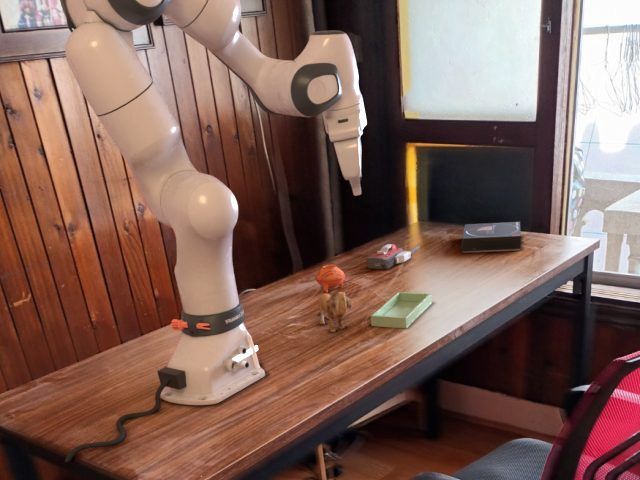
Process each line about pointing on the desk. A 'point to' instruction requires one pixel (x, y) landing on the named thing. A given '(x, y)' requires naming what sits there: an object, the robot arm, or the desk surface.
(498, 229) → the portable cd player
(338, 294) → the lion figurine
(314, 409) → the desk surface
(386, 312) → the tray
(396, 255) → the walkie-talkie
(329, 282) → the pot
